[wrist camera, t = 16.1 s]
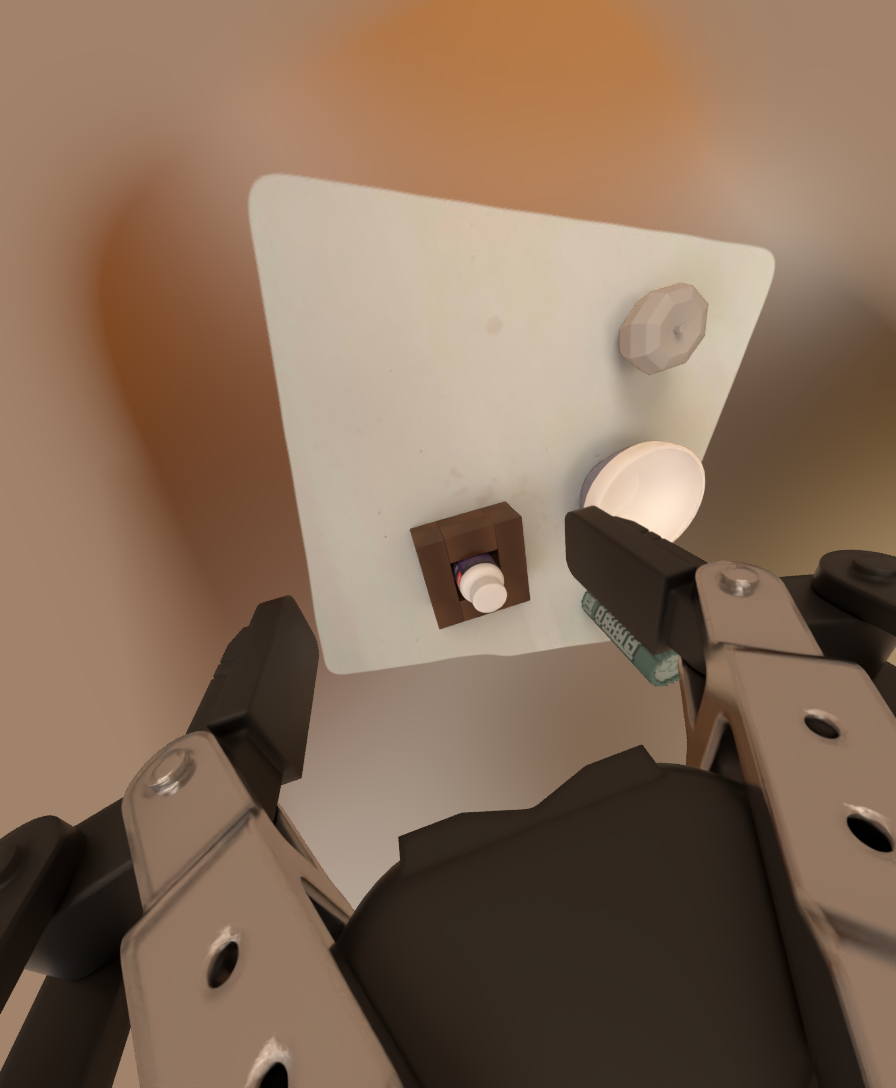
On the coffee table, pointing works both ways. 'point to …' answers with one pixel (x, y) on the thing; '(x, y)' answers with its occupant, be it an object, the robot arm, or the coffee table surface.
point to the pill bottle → (480, 582)
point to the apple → (664, 328)
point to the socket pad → (465, 539)
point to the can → (633, 645)
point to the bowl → (648, 486)
